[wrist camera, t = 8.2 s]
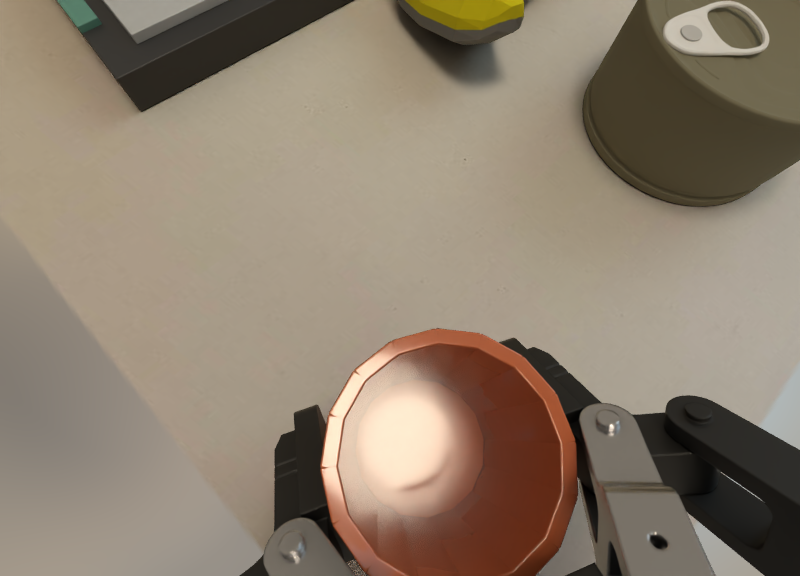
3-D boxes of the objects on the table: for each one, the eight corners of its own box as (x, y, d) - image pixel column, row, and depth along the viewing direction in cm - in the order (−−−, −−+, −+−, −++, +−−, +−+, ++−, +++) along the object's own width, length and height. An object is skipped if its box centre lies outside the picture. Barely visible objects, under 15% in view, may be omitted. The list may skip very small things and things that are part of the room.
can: (813, 187, 24) (972, 97, 18) (629, 229, 23) (727, 149, 16) (714, 37, 28) (814, -83, 21) (550, 65, 26) (604, -53, 20)
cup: (409, 560, 15) (437, 682, 8) (318, 433, 17) (270, 434, 9) (517, 455, 17) (630, 474, 9) (426, 346, 18) (460, 285, 11)
